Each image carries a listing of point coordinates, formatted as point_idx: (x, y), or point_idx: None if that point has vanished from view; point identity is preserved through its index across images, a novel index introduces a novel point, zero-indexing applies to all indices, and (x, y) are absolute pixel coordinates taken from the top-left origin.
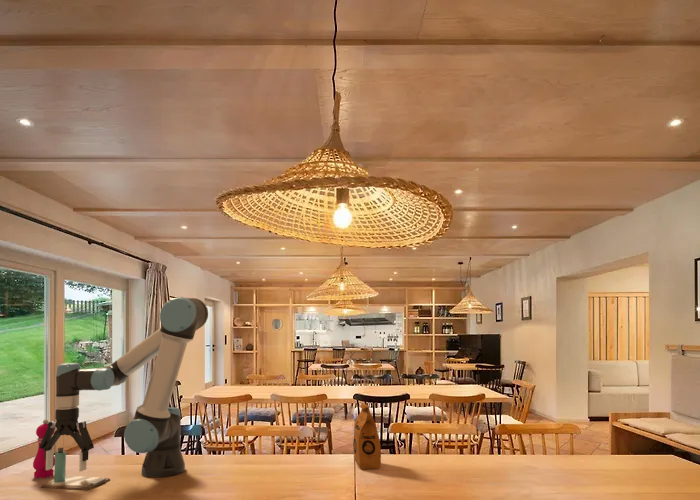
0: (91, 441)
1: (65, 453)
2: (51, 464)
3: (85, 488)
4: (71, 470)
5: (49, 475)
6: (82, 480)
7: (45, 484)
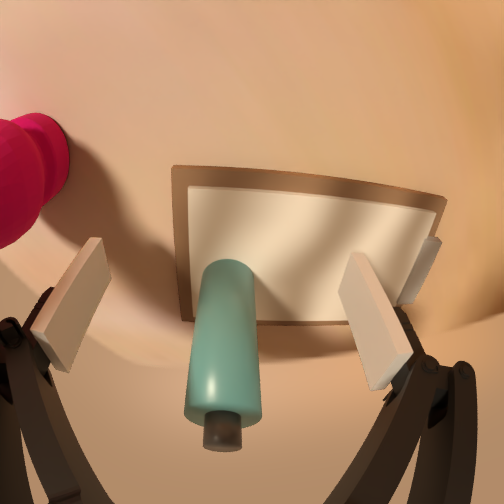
0: (473, 412)
1: (260, 406)
2: (94, 267)
3: None
4: (93, 16)
5: (66, 167)
6: (345, 262)
7: (187, 308)
